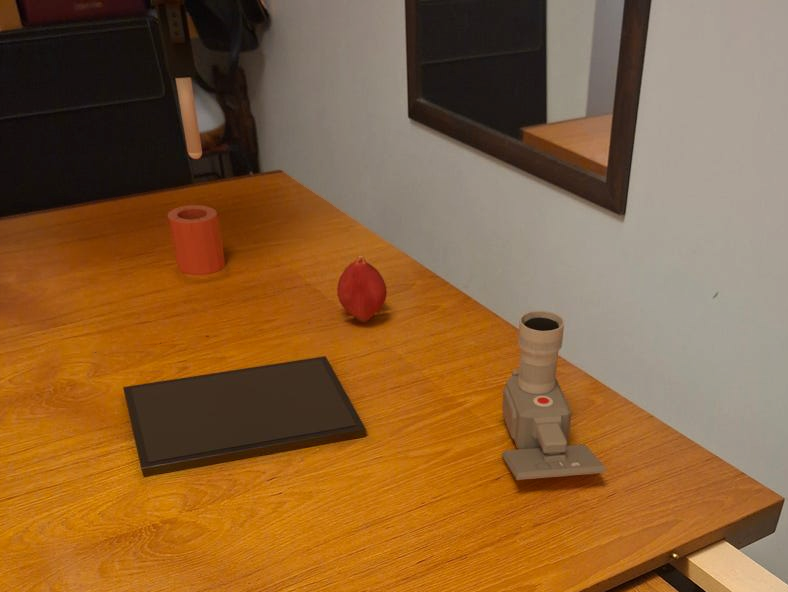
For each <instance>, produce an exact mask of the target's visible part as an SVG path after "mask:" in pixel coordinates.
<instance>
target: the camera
mask: <svg viewBox="0 0 788 592" xmlns="http://www.w3.org/2000/svg"><path fill="white" fill-rule="evenodd" d="M564 330H565V320H564V318H563V317H562V316H561V315H559V314H558V313H555V312H552V311H547V310H531V311H528V312H525V313H523V314H522V315H521V316H520V317H519V322H518V337H517V345H518V347H519V348H520V351H519V365H518V369H517V368H516V369H513V370H512V372H511V376H510V377H509V378H508V379H507V380H506V382H505V383H506V384H505V386H503V391H502V405H501V406H502V407H501V409H502V415H503V419H504V421H505V424H506V426H507V427H506V428H507V430H508V432H509V435H510V438H511V439H513V441H514V444H515V447H516V449H508V450H503V451H502V452H501V458H502V460H504V463H506V464H505V465H507V467H508V469H509V470H510V472H511V473H512V475H513V477H514V478H515V480H516V481H520V480H531V479H532V480H533V479H545V478H558V477H570V476H580V475H581V476H583V475H594V474H606V473H607V469H606V465H604V464H603V463H602V462H601V460H600V459H599V458H598V457H597V456H596V454H595V453H594V452H593V451H592V450H591V449H590V448H589V447H588V446H587V445H586V444H583V443H582V444H573V445H569V437H570V428H571V422H572V414H573V412H572V409H571V407H570V404H569V403H568V401H567V398H566V396H565V394H564V392H563V390H562V387H561V385H560V383H559V382H558V379H557V365H558V358H559V351H560V350H561V349H562V346H563V339H564Z"/></svg>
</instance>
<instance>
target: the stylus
mask: <svg viewBox="0 0 788 592" xmlns="http://www.w3.org/2000/svg"><path fill="white" fill-rule="evenodd" d="M175 84H176V90H177V95H178V102H179V108H180V113H181V120H182V126H183V133H184V138H185V144H186V151H187V155H188V156H189V157H190V158H191V159H194V160H199V159H200V158H201V157H202V155H203V149H202V141H201V135H200V129H199V123H198V116H197V109H196V103H195V96H194V90H193V83H192V77H190V78H175Z"/></svg>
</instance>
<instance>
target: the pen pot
mask: <svg viewBox="0 0 788 592" xmlns="http://www.w3.org/2000/svg"><path fill="white" fill-rule="evenodd" d="M218 217H219V216H218V212H217V211H216V209H214V208H213V207H210V206H207V205H199V204H198V205H197V204H191V205H184V206H179V207H176V208H175V207H174V208H173V209H172V210H170V211H169V212H168V213H167V221H168V226H169V231H170V236H171V240H172V246H173V252H174V256H175V261H176V264H177V268H178V270H179V271H180V272H182V273H184V274H187V275H191V276H205V275H211V274H214V273H218V272H219V271H221V270H223V269H224V268H225V266H226V260H225V253H224V247H223V241H222V235H221V229H220V223H219V218H218Z"/></svg>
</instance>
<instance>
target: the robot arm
mask: <svg viewBox="0 0 788 592" xmlns="http://www.w3.org/2000/svg"><path fill="white" fill-rule="evenodd" d="M150 4H151V6H155V12H156V17H157V24H158V29H159V35H160V40H161V45H162V46H161V47H162V51H163V56H164V61H165V67H166V72H167V73H168V74H169V78H170V79H176V78H190V77H191V78H197V70H196V66H195V59H194V53H193V48H192V47H193V46H192V41H191V35H190V29H189V22H188V16H187V9H186V3H185V0H150Z"/></svg>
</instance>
